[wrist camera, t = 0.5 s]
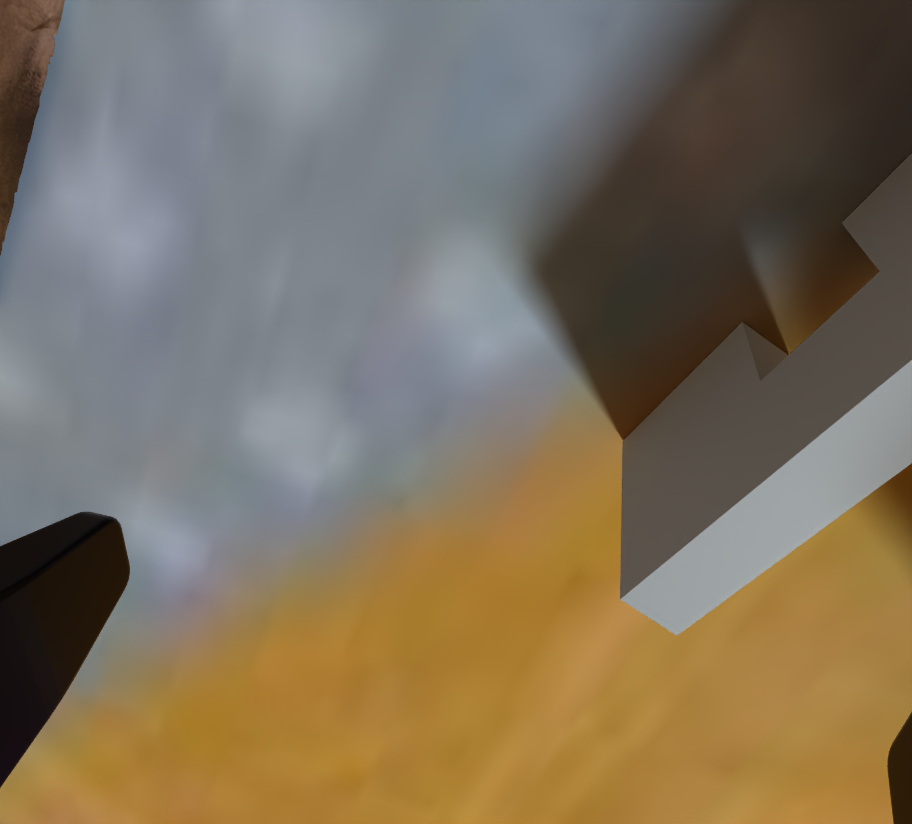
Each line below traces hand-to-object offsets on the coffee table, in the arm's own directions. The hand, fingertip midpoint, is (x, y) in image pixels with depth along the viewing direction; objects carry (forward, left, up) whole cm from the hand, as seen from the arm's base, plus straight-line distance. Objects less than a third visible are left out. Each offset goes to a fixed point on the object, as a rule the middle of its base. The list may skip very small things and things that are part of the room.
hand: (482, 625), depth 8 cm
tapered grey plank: (-5, -3, -12) cm, 13 cm away
